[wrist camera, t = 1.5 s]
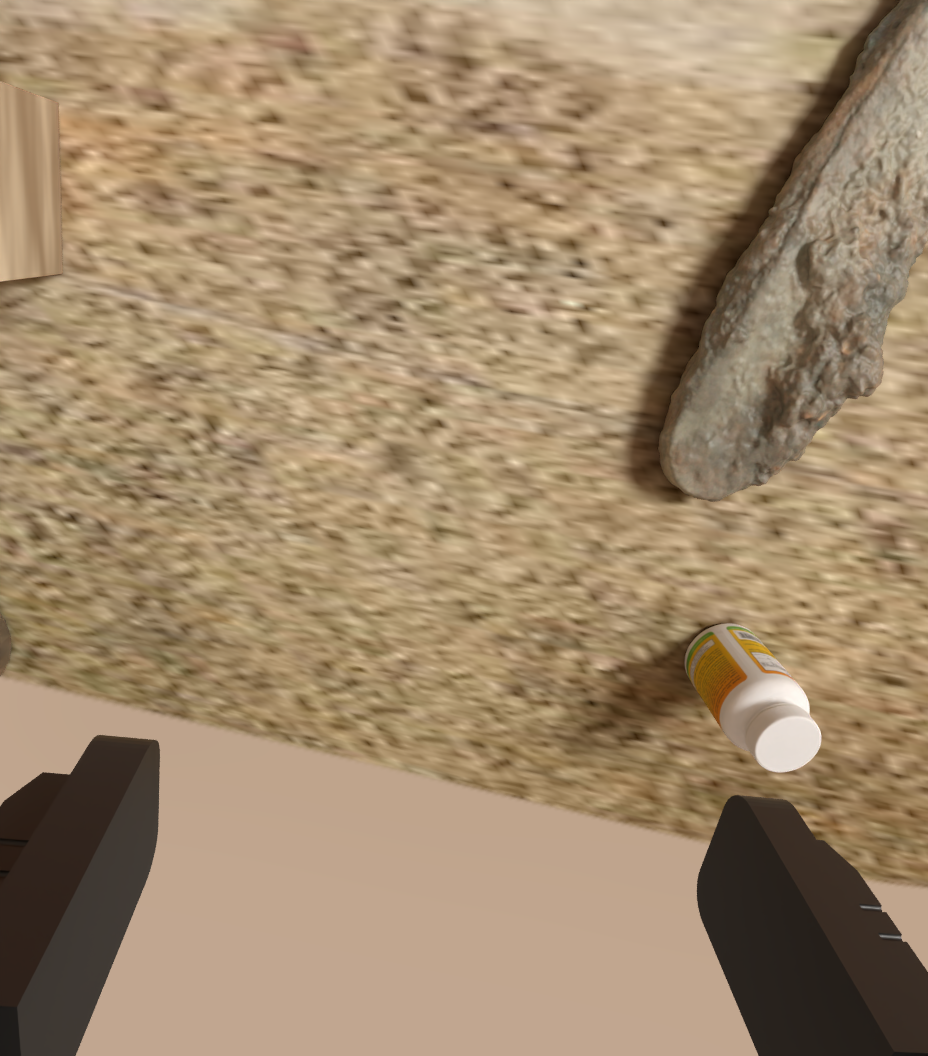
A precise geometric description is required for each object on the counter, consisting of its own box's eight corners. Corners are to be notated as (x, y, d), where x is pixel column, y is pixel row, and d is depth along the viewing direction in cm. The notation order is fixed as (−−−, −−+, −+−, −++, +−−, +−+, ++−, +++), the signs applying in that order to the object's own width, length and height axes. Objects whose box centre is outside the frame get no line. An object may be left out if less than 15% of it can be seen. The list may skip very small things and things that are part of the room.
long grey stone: (1109, -61, 38) (961, -172, 36) (1213, -114, 33) (1048, -247, 31) (745, 521, 47) (612, 455, 45) (784, 548, 42) (636, 475, 40)
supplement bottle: (689, 696, 52) (748, 793, 43) (676, 633, 50) (736, 722, 41) (762, 675, 52) (838, 768, 43) (753, 611, 50) (830, 695, 41)
